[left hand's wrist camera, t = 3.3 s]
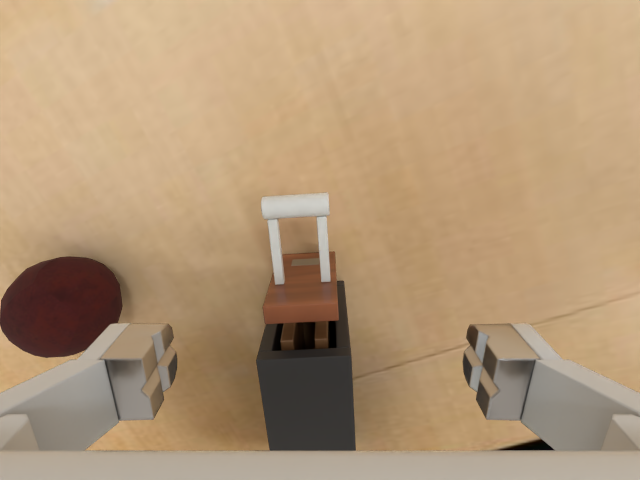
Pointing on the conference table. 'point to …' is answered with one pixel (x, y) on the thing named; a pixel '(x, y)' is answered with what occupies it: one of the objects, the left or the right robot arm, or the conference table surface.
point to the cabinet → (308, 390)
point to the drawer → (301, 276)
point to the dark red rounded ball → (60, 306)
